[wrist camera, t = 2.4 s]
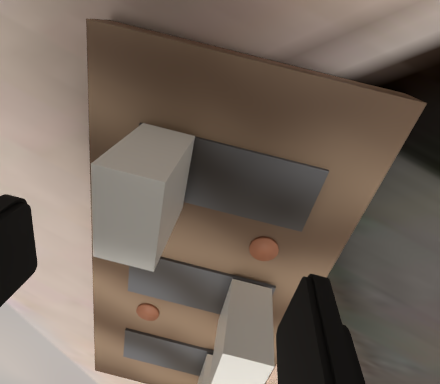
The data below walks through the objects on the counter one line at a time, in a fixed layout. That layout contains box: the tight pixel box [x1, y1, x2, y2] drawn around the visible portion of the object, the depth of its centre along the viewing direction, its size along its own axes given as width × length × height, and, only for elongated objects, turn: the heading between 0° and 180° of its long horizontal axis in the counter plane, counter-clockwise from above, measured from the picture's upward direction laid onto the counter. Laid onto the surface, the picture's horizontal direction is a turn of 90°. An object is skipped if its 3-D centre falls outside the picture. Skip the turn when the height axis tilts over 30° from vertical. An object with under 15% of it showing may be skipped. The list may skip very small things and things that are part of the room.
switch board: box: [86, 19, 427, 384], centre depth 19 cm, size 27×14×2 cm, turn 168°
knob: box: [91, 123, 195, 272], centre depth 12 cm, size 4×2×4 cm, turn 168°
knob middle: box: [209, 279, 275, 384], centre depth 16 cm, size 4×2×4 cm, turn 168°
